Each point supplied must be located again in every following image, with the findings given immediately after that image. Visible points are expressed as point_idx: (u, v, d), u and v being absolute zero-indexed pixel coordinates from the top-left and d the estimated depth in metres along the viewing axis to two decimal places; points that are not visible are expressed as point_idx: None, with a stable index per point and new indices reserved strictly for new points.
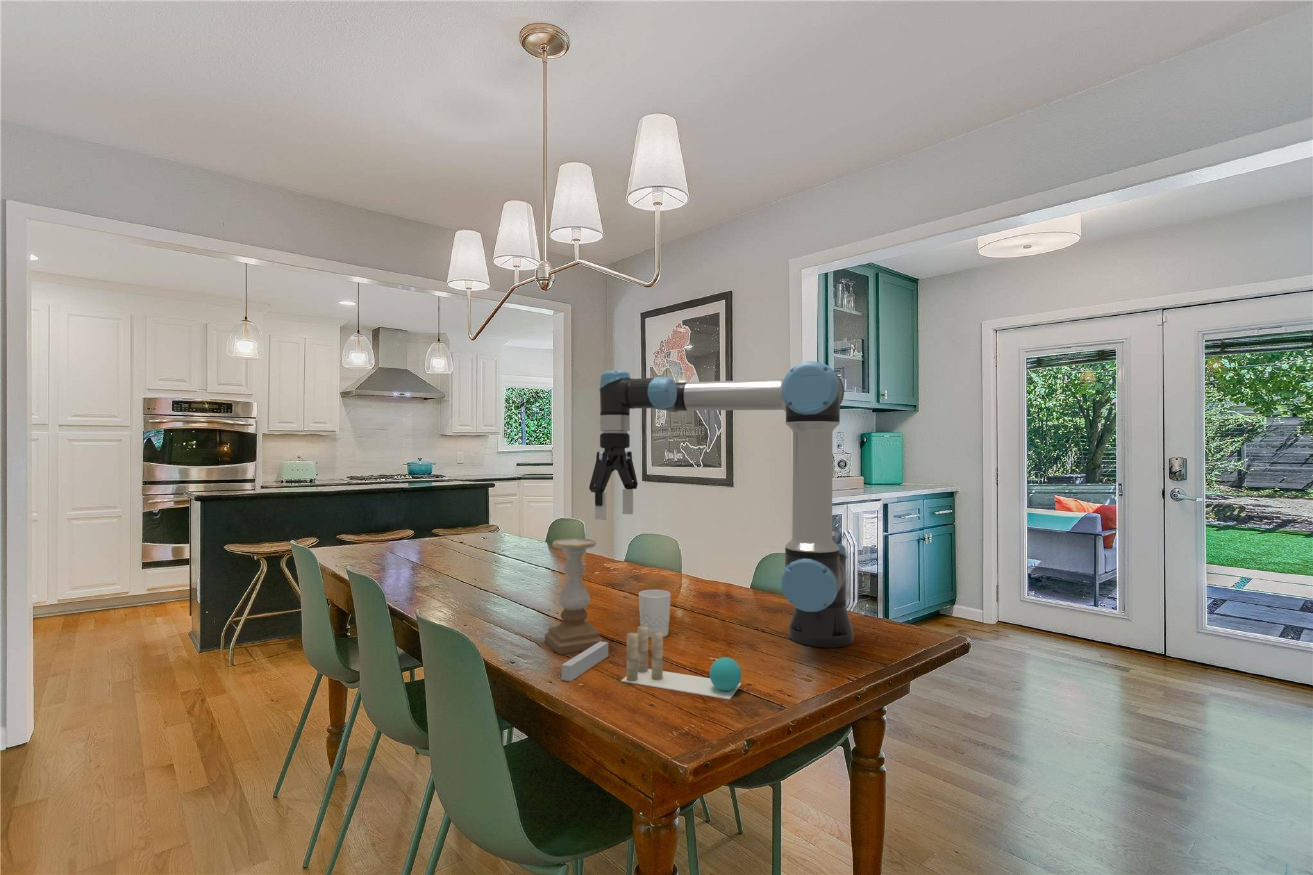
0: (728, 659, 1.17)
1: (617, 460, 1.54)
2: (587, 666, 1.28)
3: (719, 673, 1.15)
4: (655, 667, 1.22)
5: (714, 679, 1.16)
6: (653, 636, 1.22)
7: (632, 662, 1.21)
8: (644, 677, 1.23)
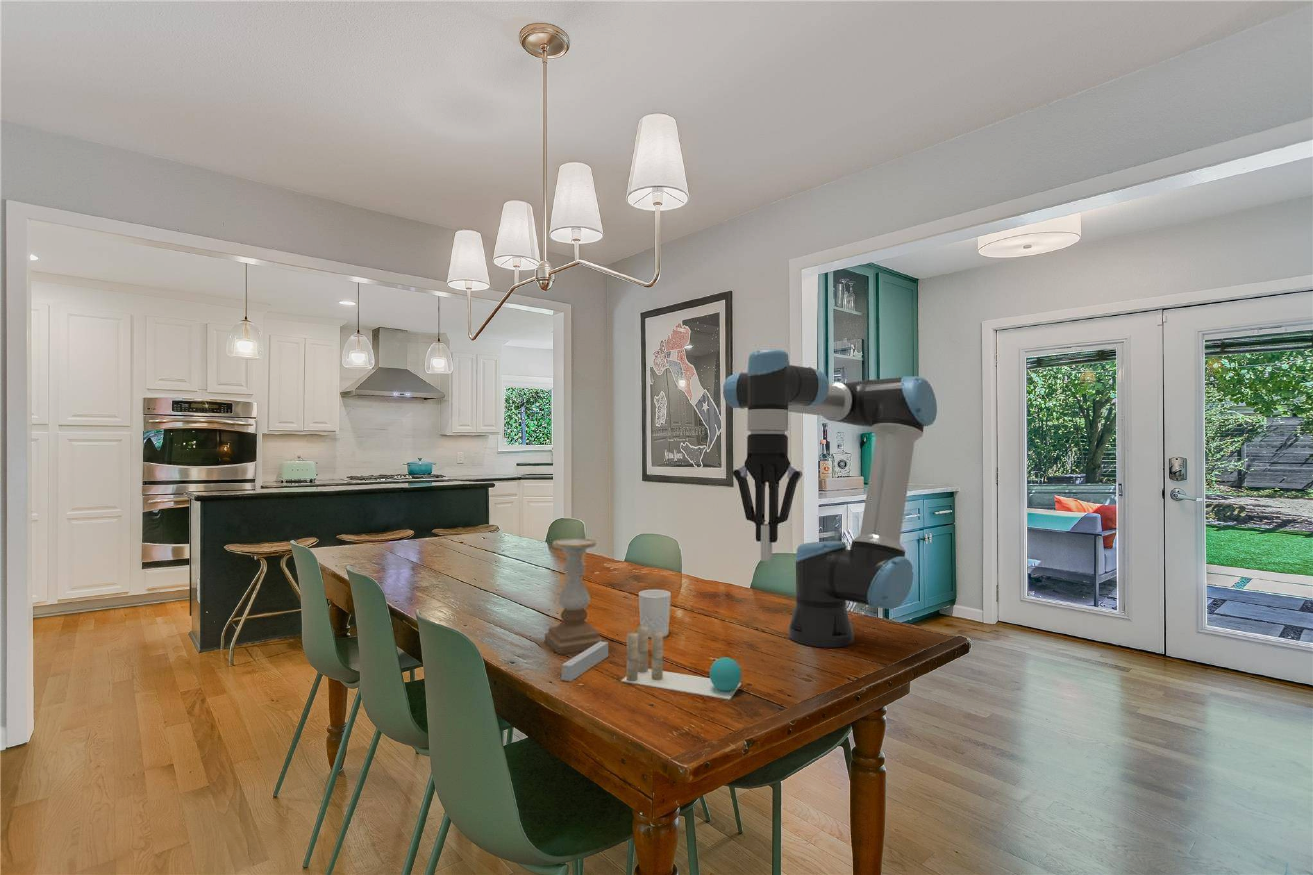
0: (728, 659, 1.17)
1: (757, 472, 1.15)
2: (587, 666, 1.28)
3: (719, 673, 1.15)
4: (655, 667, 1.22)
5: (714, 679, 1.16)
6: (653, 636, 1.22)
7: (632, 662, 1.21)
8: (644, 677, 1.23)
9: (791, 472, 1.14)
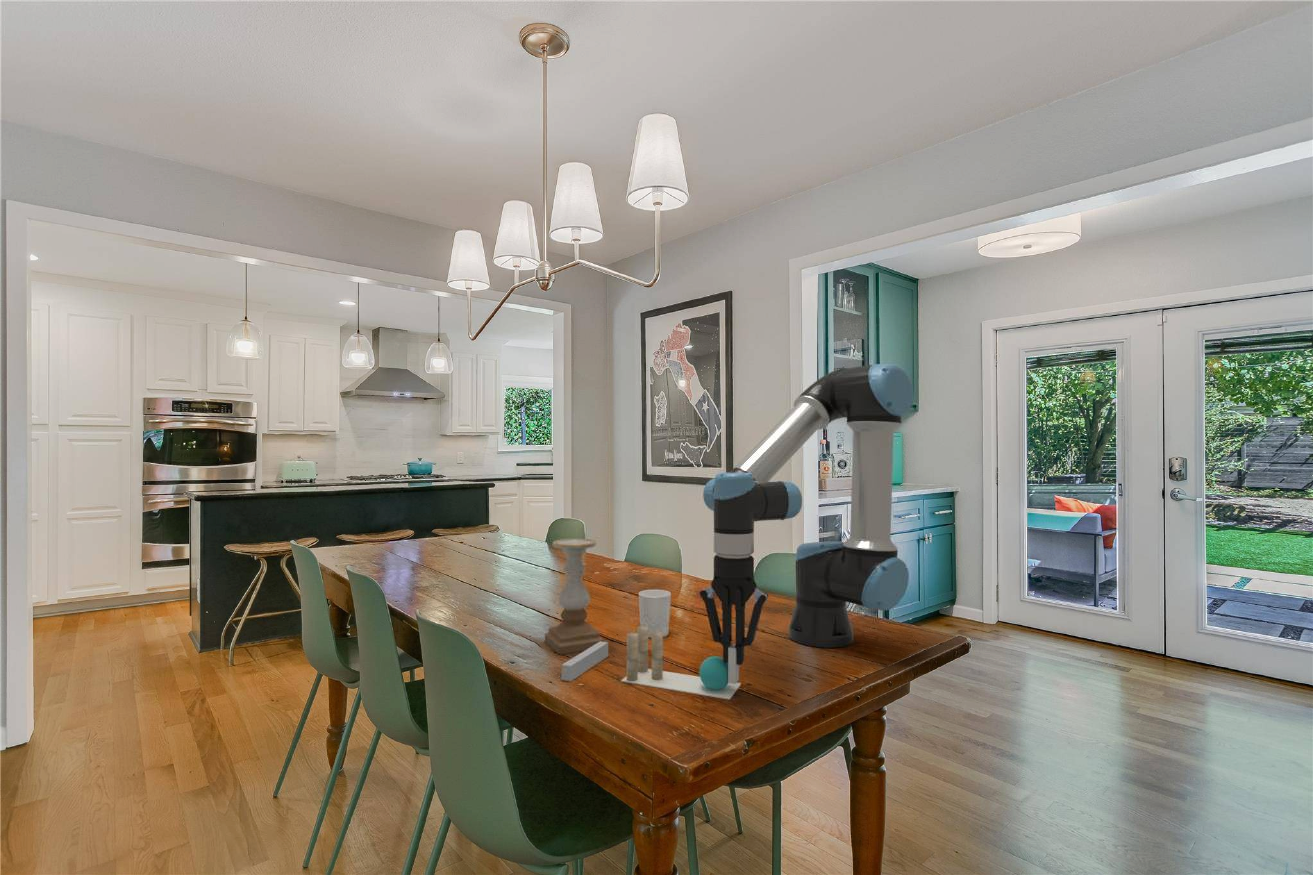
0: (712, 657, 1.18)
1: (723, 595, 1.16)
2: (587, 666, 1.28)
3: (707, 673, 1.16)
4: (655, 667, 1.22)
5: (705, 681, 1.16)
6: (653, 636, 1.22)
7: (632, 662, 1.21)
8: (644, 677, 1.23)
9: (757, 595, 1.15)
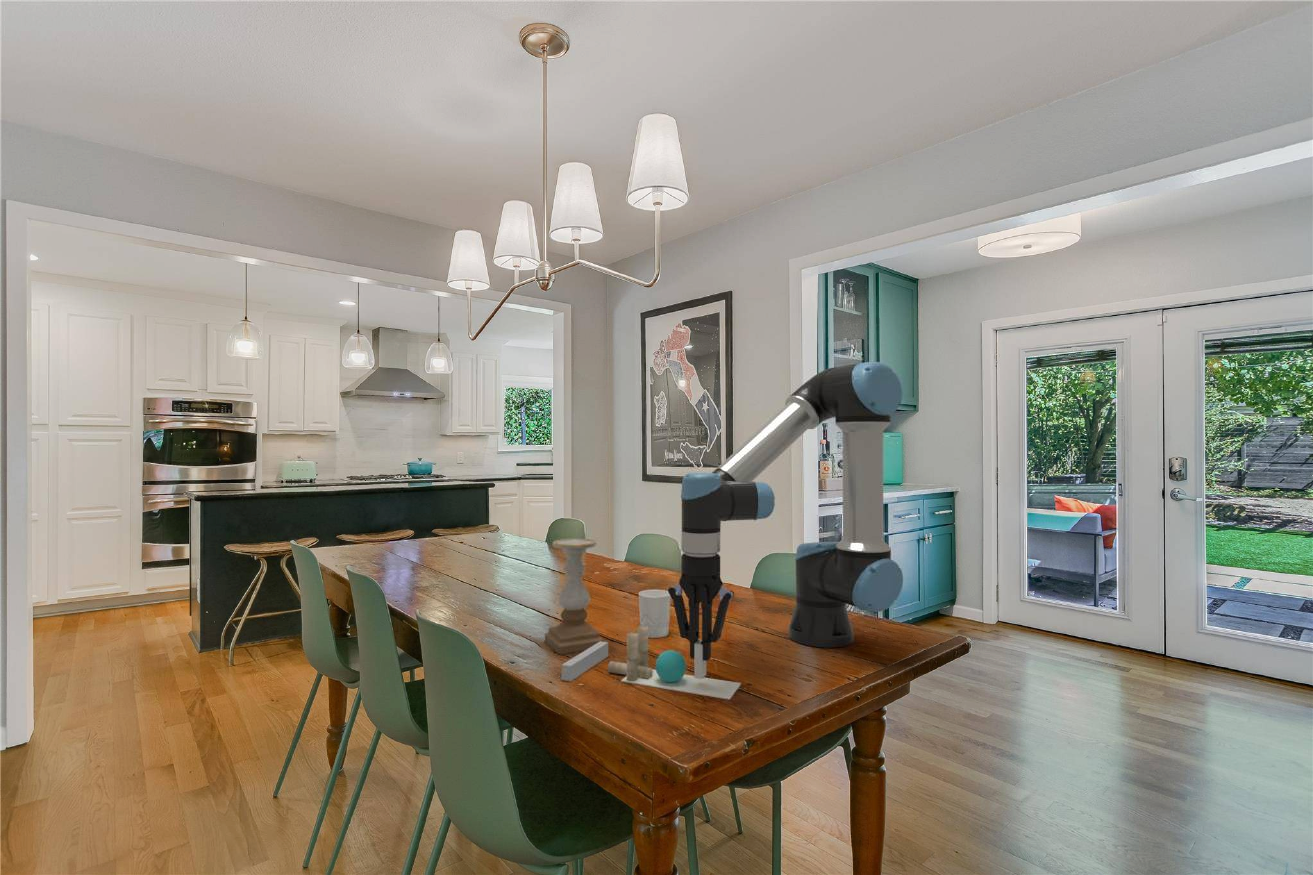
0: None
1: (690, 592, 1.19)
2: (587, 666, 1.28)
3: (666, 675, 1.19)
4: None
5: (672, 669, 1.19)
6: (610, 671, 1.26)
7: (632, 662, 1.21)
8: None
9: (723, 593, 1.18)
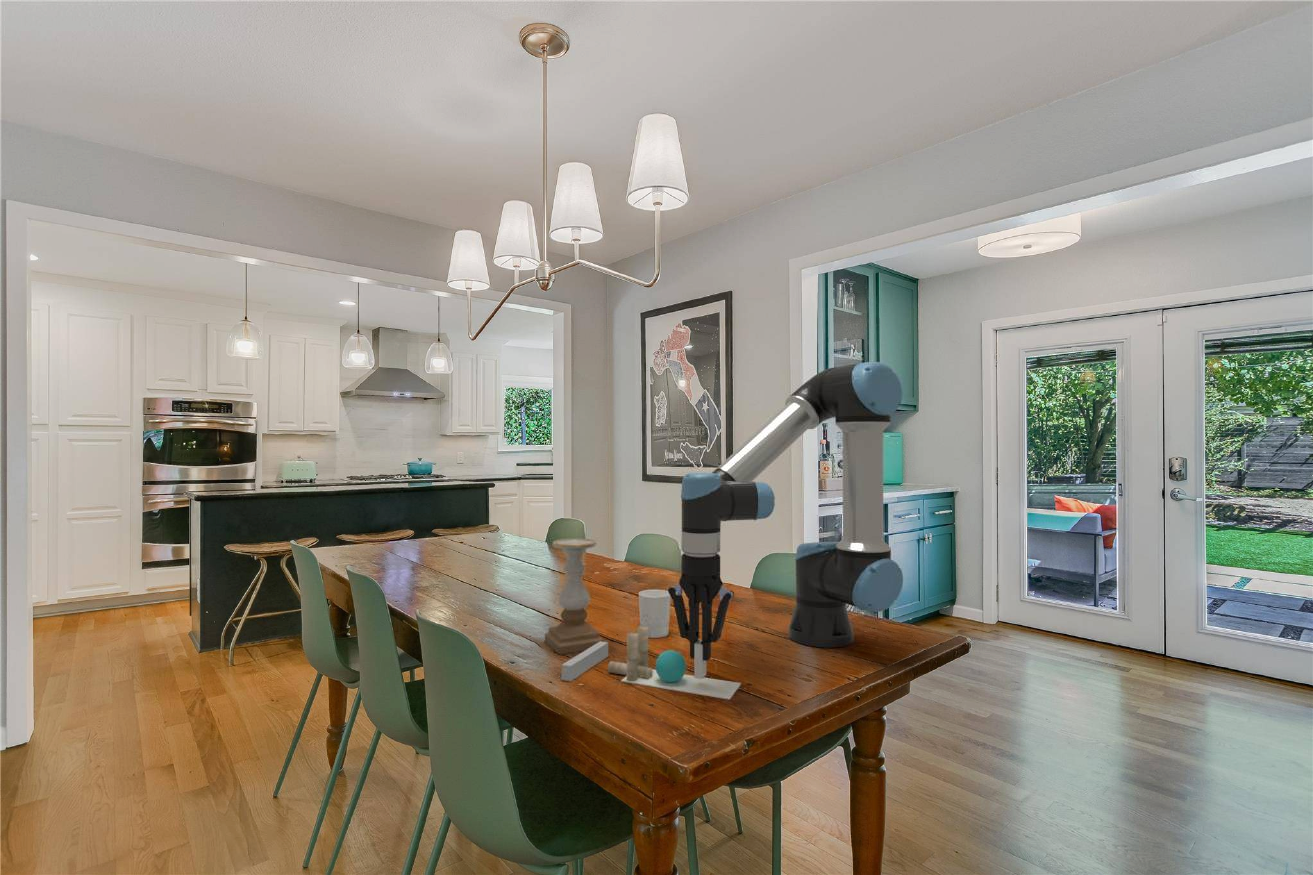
0: None
1: (690, 592, 1.19)
2: (587, 666, 1.28)
3: (666, 675, 1.19)
4: None
5: (672, 669, 1.19)
6: (610, 671, 1.26)
7: (632, 662, 1.21)
8: None
9: (723, 593, 1.18)
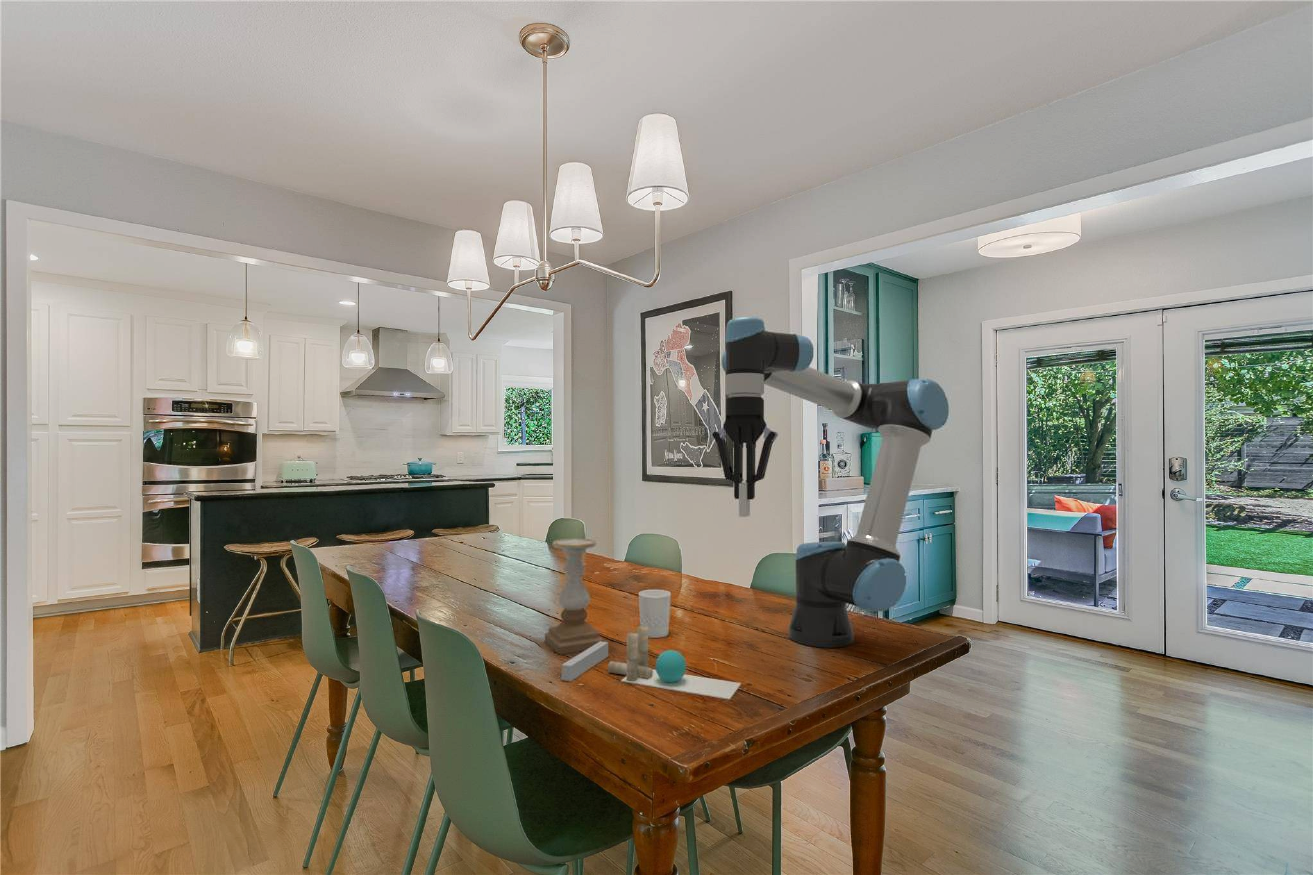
0: None
1: (735, 433, 1.22)
2: (587, 666, 1.28)
3: (666, 675, 1.19)
4: None
5: (672, 669, 1.19)
6: (610, 671, 1.26)
7: (632, 662, 1.21)
8: None
9: (767, 433, 1.21)
